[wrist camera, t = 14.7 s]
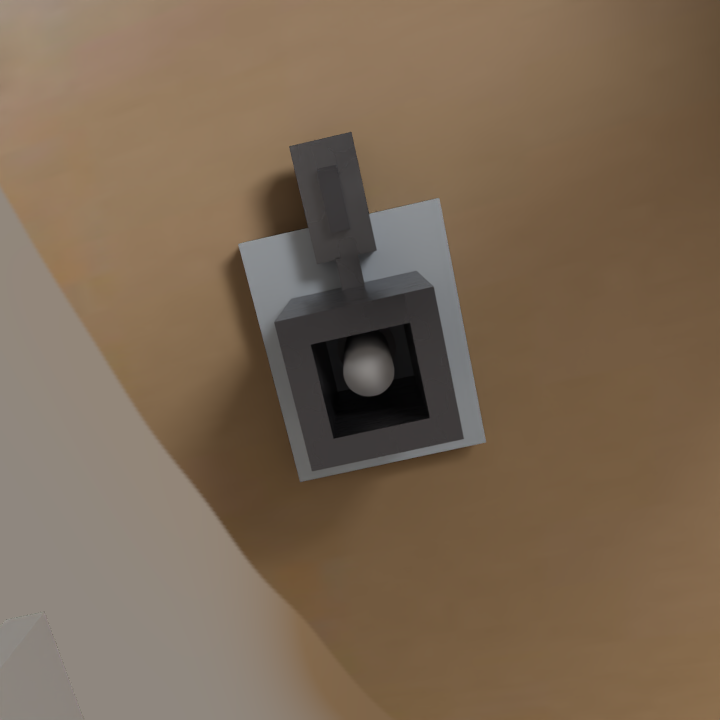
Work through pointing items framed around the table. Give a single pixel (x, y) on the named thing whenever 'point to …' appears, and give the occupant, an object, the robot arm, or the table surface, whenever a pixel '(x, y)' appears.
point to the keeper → (370, 349)
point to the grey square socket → (359, 327)
